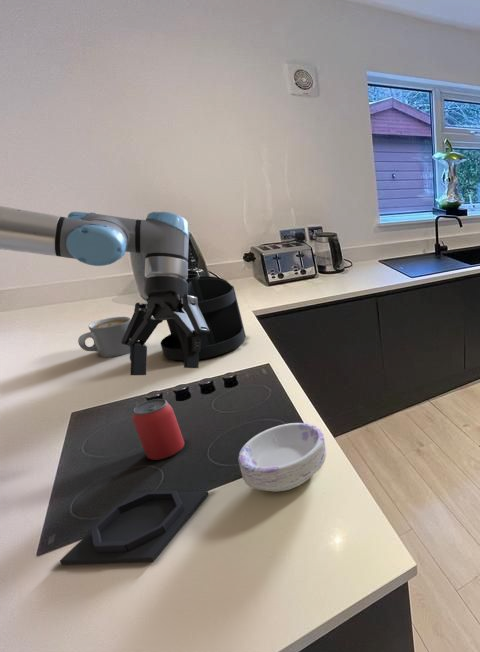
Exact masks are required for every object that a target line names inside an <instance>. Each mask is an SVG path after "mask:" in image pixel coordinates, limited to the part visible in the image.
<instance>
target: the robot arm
mask: <svg viewBox="0 0 480 652" xmlns="http://www.w3.org/2000/svg"><path fill="white" fill-rule="evenodd" d="M188 223H189V222H188V220H187V219H186V218H184V217H182V216H181V215H180V214H177V213H174V212H170V211H169V212H168V211H152V212H149V213H148V214H147V215H146V218H145V219H135V218H129V217H122V216H115V215H109V214H108V215H107V214H101V213H96V212H86V211H85V212H84V211H71V212H70V213H68V215H67V217H65V216H60V215H55V214H49V213H44V212H37V211H32V210H25V209H22V208H21V209H20V208H15V207H9V206H4V205H3V206H2V205H0V250H4V251H12V252H19V253H28V254H37V255H44V256H52V257H58V258H66V259H73V260H76V261H79V262H80V263H83V264H85V265H88V266H94V267H102V266H109V265H111V264H114V263H116V262H118V261H119V260H120V259H122V258H123V257H124V256H125V254H126V253H135V254H145V261H144V277H145V279H144V286H143V287H144V291H143V292H144V295H145V296H146V297H147V298H149V301H148V303H147V302H146V303H144V302H143V303H142V302H136V303H135V304H134V309H133V314H132V316H131V318H130V319H131V321H130V323H129V325H128V327H127V330H126V332H125V334H124V336H123V339H122V341H121V343H122V344H125V345H128V346H130V353H129V361H130V373H129V375H130V376H146V375H147V364H148V363H147V360H148V359H147V358H148V346H147V344H146V343H147V341H148V340H149V338H150V337H151V336H152V334H153V333H154V331H155V329H156V328H157V327H158V325H159V324H161V323H163V322H164V321H167V320H168V319H174V320H175V321H176V322H177V323H178V324H179V326H180V327H181V328H182V329H183V331H184V332H185V333H186V334H187V335H186V337H190V338H184V360H183V369H199V362H200V360H199V352H200V350H201V338H202V336H203V335H205V334H209V333H210V330H209V328H208V326H207V324H206V322H205V320H204V317H203V315H202V313H201V311H200V309H199V307H198V300H197V297H194V296H189V295H188V282H187V281H186V279H188V275H189V248H190V247H189V246H190V244H189V243H190V242H189V241H190V235H189V224H188ZM183 307H184V308H185V310H184V309H183ZM185 311H186V312H185ZM129 339H130V340H129Z"/></svg>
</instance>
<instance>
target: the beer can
mask: <svg viewBox="0 0 480 652" xmlns="http://www.w3.org/2000/svg"><path fill="white" fill-rule="evenodd" d="M132 423H133V426H134V428H135V430H136V432H137V435H138V438H139V440H140V442H141V445H142V449H143V450H144V453H145V455H146V457H147V459H149V460H153V461H158V460H164V459H168V458H170V457H173V456H175V455H176V454H178V453H179V452H181V451H182V449H183V448H184V447H185V439H184V437H183V434H182V432H181V428H180V425H179V423H178V420H177V417H176V414H175V411H174V409H173V407H172V406H171V405H170V403H169V402H168V401H167V400H166V399H165V398H154V399H149V400H146V401H144V402H141V403H139V404H138V405H136V406H134V407H133V409H132Z"/></svg>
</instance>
